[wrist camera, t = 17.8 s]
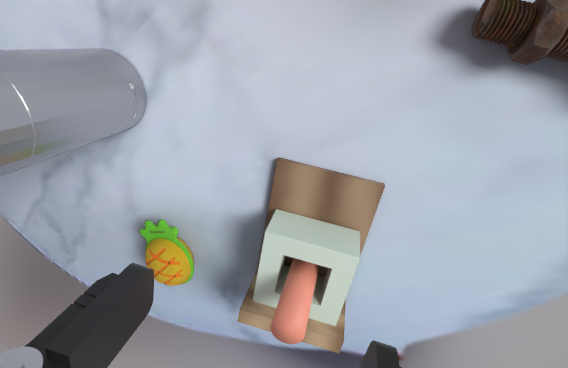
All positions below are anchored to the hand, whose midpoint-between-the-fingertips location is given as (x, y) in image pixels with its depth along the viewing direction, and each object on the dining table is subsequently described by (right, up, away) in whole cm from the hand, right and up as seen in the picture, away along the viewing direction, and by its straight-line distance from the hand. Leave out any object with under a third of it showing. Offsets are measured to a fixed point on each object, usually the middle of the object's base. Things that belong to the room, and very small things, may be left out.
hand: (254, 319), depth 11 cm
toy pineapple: (-14, -3, +33) cm, 36 cm away
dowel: (+4, -4, +28) cm, 29 cm away
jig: (+5, -2, +28) cm, 28 cm away
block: (+4, -4, +28) cm, 28 cm away
